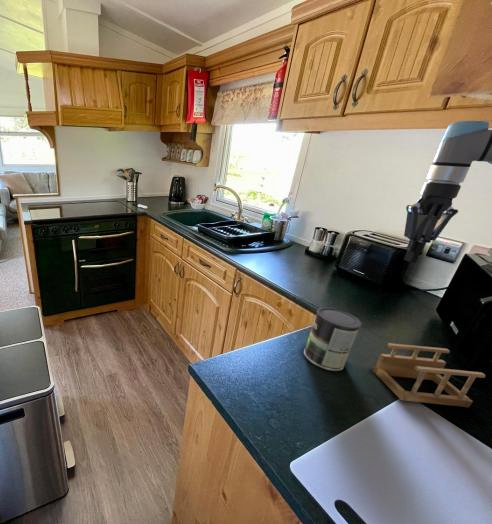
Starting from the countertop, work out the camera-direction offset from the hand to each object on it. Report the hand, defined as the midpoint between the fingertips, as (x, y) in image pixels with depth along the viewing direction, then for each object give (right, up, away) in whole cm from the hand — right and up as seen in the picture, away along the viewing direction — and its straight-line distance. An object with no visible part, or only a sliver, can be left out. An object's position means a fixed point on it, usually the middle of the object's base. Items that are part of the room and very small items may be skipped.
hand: (409, 261), depth 89 cm
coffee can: (-30, -28, -6) cm, 42 cm away
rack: (-11, -33, -14) cm, 38 cm away
